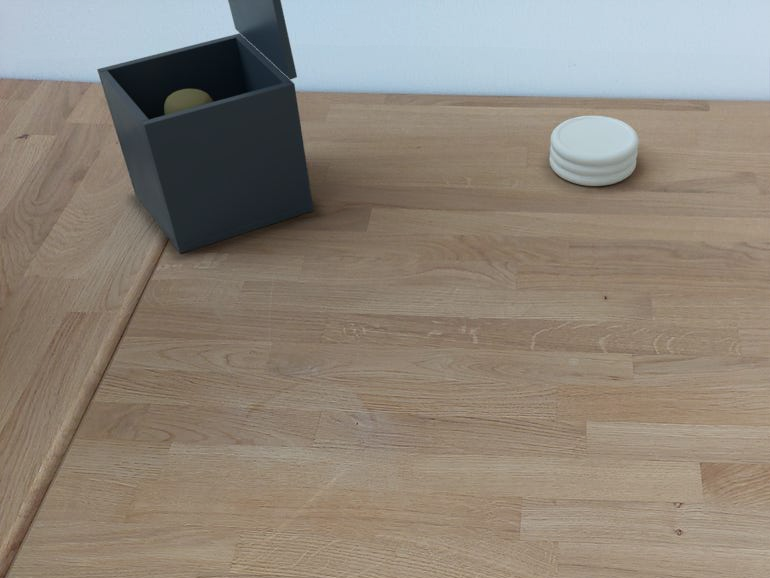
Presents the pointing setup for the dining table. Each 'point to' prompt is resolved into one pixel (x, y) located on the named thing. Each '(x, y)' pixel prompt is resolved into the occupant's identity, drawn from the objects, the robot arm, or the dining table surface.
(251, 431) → the dining table surface
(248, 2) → the lid
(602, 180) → the coaster
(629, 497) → the dining table surface
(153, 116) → the chest
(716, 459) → the dining table surface
